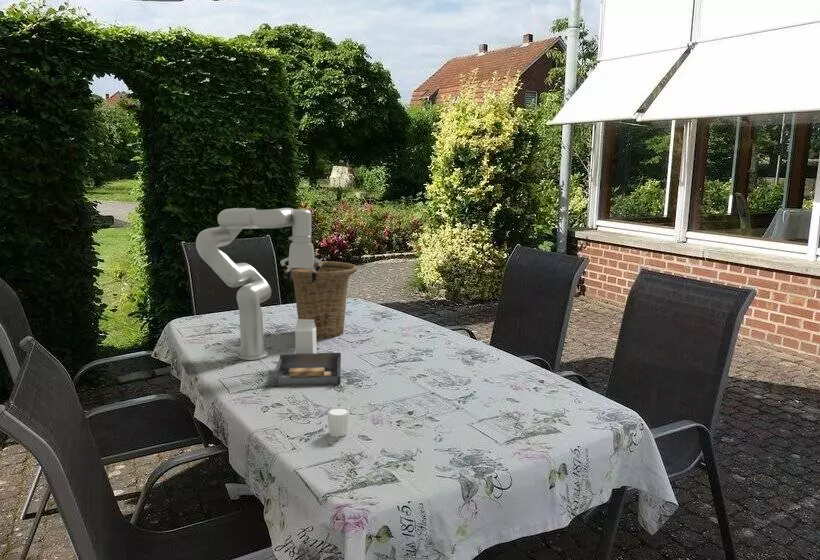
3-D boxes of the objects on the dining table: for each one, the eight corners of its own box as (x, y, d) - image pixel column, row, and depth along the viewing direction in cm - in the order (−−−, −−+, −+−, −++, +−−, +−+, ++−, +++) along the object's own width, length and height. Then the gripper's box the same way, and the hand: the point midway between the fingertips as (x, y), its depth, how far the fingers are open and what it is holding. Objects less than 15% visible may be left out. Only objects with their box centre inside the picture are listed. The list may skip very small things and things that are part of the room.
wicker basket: (371, 330, 312) (371, 265, 307) (326, 346, 283) (325, 274, 278) (318, 321, 331) (316, 259, 325) (270, 335, 302) (268, 267, 296)
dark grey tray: (275, 386, 231) (274, 368, 230) (280, 370, 249) (280, 353, 248) (340, 384, 234) (340, 366, 232) (340, 369, 251) (340, 352, 250)
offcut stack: (287, 385, 233) (286, 371, 232) (288, 381, 237) (288, 367, 237) (330, 384, 234) (330, 370, 233) (331, 380, 239) (330, 367, 238)
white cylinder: (328, 428, 194) (327, 407, 192) (350, 428, 194) (350, 407, 193) (326, 438, 187) (326, 416, 186) (349, 437, 187) (349, 415, 186)
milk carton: (313, 367, 254) (312, 321, 251) (296, 366, 254) (294, 321, 251) (316, 361, 261) (316, 317, 258) (300, 361, 261) (299, 317, 258)
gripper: (278, 240, 249) (279, 282, 252) (322, 241, 250) (322, 283, 253) (281, 238, 256) (281, 279, 259) (324, 239, 257) (323, 280, 260)
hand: (301, 281), depth 256 cm, fingers open, 9 cm apart
